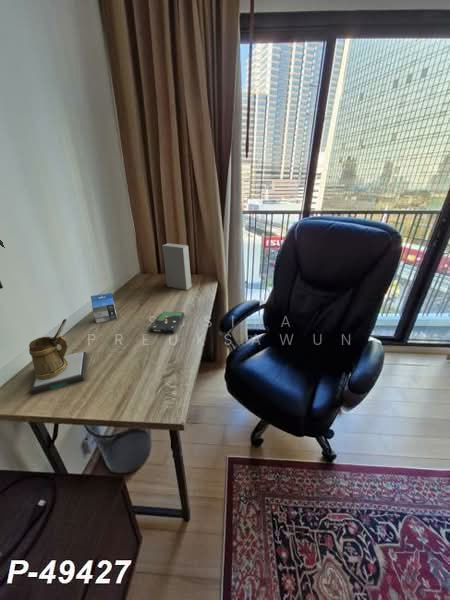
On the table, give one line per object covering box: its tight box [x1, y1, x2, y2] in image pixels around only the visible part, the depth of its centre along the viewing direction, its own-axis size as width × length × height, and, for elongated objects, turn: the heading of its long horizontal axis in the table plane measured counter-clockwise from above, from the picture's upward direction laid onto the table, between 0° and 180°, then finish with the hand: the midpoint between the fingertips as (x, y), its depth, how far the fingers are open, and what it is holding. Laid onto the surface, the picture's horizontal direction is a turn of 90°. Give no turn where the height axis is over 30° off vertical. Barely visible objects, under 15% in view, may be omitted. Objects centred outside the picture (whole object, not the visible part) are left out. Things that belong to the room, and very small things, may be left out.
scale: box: [30, 351, 88, 395], centre depth 83 cm, size 14×14×3 cm
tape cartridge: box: [90, 292, 118, 324], centre depth 113 cm, size 9×4×12 cm, turn 112°
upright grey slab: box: [161, 242, 193, 291], centre depth 143 cm, size 14×6×25 cm, turn 65°
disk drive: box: [150, 310, 185, 335], centre depth 110 cm, size 10×3×15 cm
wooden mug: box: [28, 318, 68, 380], centre depth 78 cm, size 9×14×18 cm, turn 104°
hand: (5, 280), depth 79 cm, fingers open, 13 cm apart
